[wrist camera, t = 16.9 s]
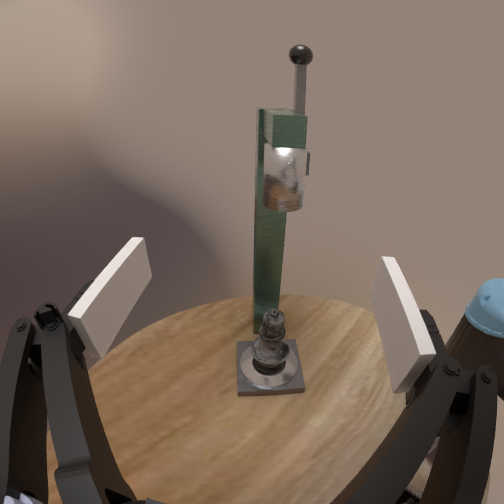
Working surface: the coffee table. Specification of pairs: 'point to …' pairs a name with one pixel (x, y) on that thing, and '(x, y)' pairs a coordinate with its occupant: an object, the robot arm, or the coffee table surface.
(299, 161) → the arbor press
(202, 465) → the coffee table surface
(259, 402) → the coffee table surface
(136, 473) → the coffee table surface
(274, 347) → the dark chess piece
